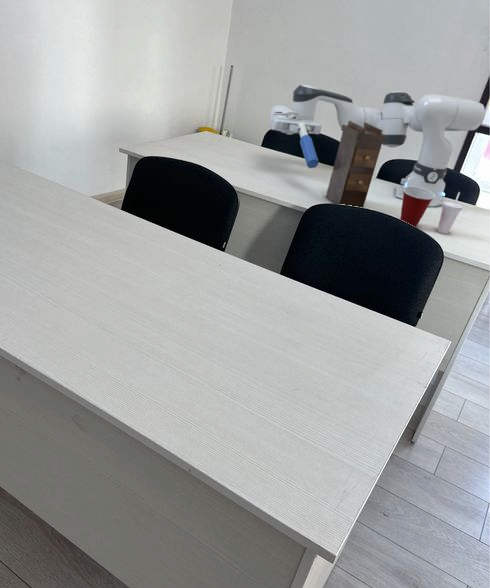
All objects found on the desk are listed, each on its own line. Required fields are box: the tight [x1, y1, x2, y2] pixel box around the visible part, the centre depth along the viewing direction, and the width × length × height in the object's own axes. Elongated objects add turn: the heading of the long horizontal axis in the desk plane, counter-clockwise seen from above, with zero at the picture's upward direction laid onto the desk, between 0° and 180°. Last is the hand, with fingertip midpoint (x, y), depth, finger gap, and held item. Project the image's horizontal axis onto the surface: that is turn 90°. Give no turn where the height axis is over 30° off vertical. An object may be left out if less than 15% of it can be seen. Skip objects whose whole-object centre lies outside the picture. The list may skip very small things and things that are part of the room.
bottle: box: [297, 123, 319, 169], centre depth 220 cm, size 20×4×4 cm, turn 15°
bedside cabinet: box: [325, 121, 387, 208], centre depth 206 cm, size 14×11×28 cm
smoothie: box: [436, 191, 463, 235], centre depth 198 cm, size 6×6×14 cm
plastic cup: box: [399, 186, 435, 228], centre depth 199 cm, size 11×11×12 cm
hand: (303, 130), depth 223 cm, fingers closed on bottle, 3 cm apart
